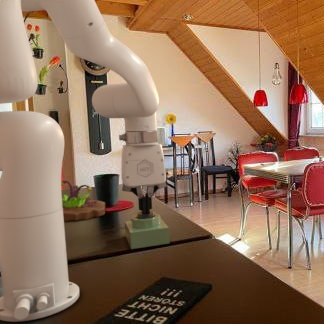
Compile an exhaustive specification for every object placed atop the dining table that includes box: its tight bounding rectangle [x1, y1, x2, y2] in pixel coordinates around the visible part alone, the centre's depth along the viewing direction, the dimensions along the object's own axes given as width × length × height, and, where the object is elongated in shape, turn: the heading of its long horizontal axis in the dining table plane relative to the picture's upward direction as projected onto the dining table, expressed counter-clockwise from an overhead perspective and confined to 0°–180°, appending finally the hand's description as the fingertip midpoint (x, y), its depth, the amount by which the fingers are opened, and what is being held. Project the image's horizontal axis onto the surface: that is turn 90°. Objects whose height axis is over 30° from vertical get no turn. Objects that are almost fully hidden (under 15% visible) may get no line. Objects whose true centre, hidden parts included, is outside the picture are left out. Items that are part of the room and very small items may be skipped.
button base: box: [124, 212, 171, 250], centre depth 96 cm, size 11×9×6 cm
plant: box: [61, 180, 106, 222], centre depth 125 cm, size 20×20×11 cm
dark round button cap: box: [136, 210, 155, 219], centre depth 96 cm, size 4×4×2 cm
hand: (145, 212), depth 96 cm, fingers closed
